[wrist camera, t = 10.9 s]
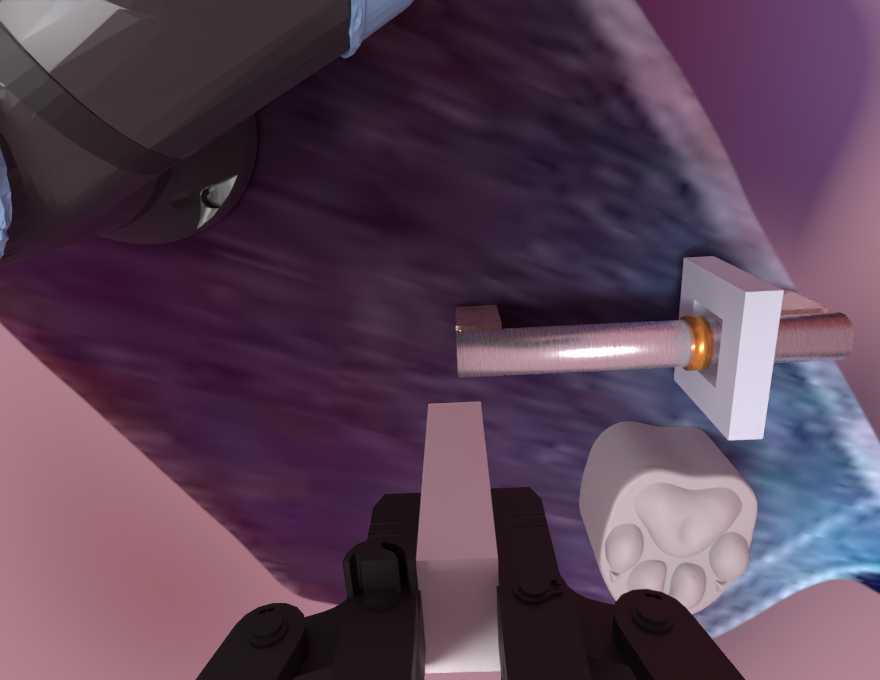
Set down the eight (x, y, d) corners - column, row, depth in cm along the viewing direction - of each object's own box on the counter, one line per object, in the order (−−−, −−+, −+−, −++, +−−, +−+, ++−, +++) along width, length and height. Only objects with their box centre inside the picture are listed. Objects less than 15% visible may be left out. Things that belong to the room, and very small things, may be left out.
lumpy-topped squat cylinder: (726, 429, 46) (785, 493, 38) (688, 563, 51) (733, 647, 43) (594, 417, 46) (625, 479, 38) (567, 553, 51) (590, 635, 42)
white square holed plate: (673, 379, 43) (728, 440, 35) (683, 257, 40) (745, 292, 32) (701, 378, 43) (762, 438, 35) (713, 256, 40) (783, 290, 32)
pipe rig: (457, 347, 44) (458, 390, 37) (455, 302, 43) (456, 337, 36) (784, 331, 44) (851, 372, 36) (790, 285, 42) (861, 317, 35)
